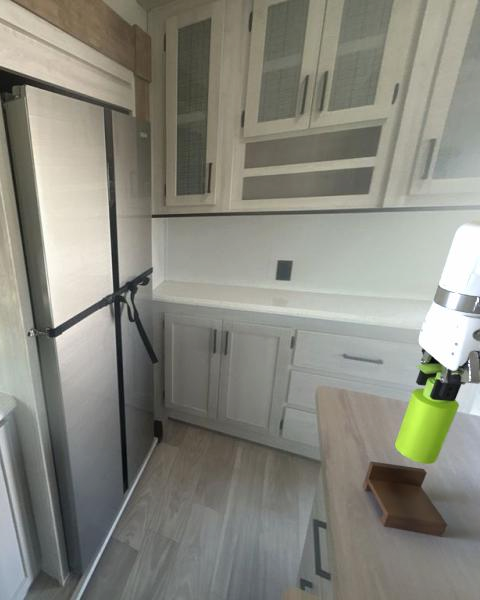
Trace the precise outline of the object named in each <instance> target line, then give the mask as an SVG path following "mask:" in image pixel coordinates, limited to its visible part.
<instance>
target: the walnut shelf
mask: <svg viewBox="0 0 480 600" xmlns="http://www.w3.org/2000/svg"><path fill="white" fill-rule="evenodd" d="M427 474H428V473H427V471H426V470H425V468H420V467H414V466H406V465H399V464H392V463H385V462H379V461H370V462H369V465H368V467H367V471H366V475H365V478H364V481H363V484H362V488H363V490H364V491H365V492H369V493H372V494H373V496H374V497H375V499H376V501H377V503H378V505H379V507H380V508H381V511H382V515H381V518H380V522H381V524H382V526H383V527H386V528H391V529H397V530H401V531H407V532H412V533H416V534H417V533H418V534H424V535H427V536H434V537H439V538H442V537H443V535H444V533H445V531H446V529H447V527H448V523H447V521H446V520H445V519H444V517H443V515H442V514H441V513H440V512H439V510H438V509H437V508H436V506H435V505H434V503H433V502H432V501H431V499H430V498H429V496H428V494H427V493H426V492H425V490H424V488H422V485H423V484H424V481H425V479H426V475H427Z"/></svg>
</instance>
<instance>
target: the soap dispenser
mask: <svg viewBox="0 0 480 600" xmlns="http://www.w3.org/2000/svg"><path fill="white" fill-rule="evenodd" d="M415 367H416V368H417V370H418V369H419V371H420V370H421V371H423V372H424V373H425V374H429V373H437V375H436V377H431V378H428V380H427V383H426V385H425V386H424V388H415V389H414V390H413V391H412V392H411V396H410V399H409V402H408V405H407V408H406V411H405V413H404V417H403V420H402V423H401V426H400V427H399V431H398V434H397V437H396V440H395V443H394V445H395V446H394V447H395V448H396V449H395V450H397V452H399V453H400V454H401V455H402V456H404V457H405V458H407V459H409V460H411V461H414V462H417V463H420V464H425V465H431V464H434V463H436V462H437V460H438V457H439V455H440V453H441V450H442V448H443V446H444V444H445V440H446V438H447V435H448V433H449V431H450V428H451V426H452V423H453V421H454V419H455V417H456V414H457V412H458V409H459V407H460V405H459V402H458V401H457V399H455V401H443V400H433V399H432V398H431V397H430V394H431V391H432V388H433V386H434V383H435V380H436V379H440V375H441V371H442V367H443V365H442V364H425V365H422V364H420V365H416V366H415ZM452 374H458V371H452V370H451V374H450V375H452Z"/></svg>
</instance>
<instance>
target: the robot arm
mask: <svg viewBox="0 0 480 600" xmlns="http://www.w3.org/2000/svg"><path fill="white" fill-rule="evenodd" d="M425 316H426V317H425V318H424V320H423V323H422V325H421V328H420V332H419V336H418V344H419V346H420V348H421V353H422V356H421V359H420V365H425V364H442V365H443V367H442V371H441V375H440V379H436V380H435V383H434V386H433V388H432V391H431V394H430V397H431V398H432V399H433V400H443V401H455V400H457V397H458V394H459V392H460V389H461V386H462V385H463V386H465V385H466V384H480V220H472V221H468V222H465V223H463V224H461V225H460V226H459V227H458V228H457V230H456V231H455V233H454V236H453V239H452V242H451V245H450V249H449V252H448V253H447V257H446V261H445V264H444V266H443V270H442V272H441V276H440V278H439V282H438V285H437V288H436V291H435V294H434V297H433V300H432V304H431V306H430V308H429V309H428V311H427V314H426V315H425ZM451 370H452V371H458V373H452V375H450V374H451ZM436 375H437V373H429V374H425V373H424V372H423V371H421V370H420V369H419V372H418V375H417V378H416V381H415V383H416V384H417V385H418V386H422V387H423V386H424V387H425V385H426V383H427V380H428V378H431V377H436Z"/></svg>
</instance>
